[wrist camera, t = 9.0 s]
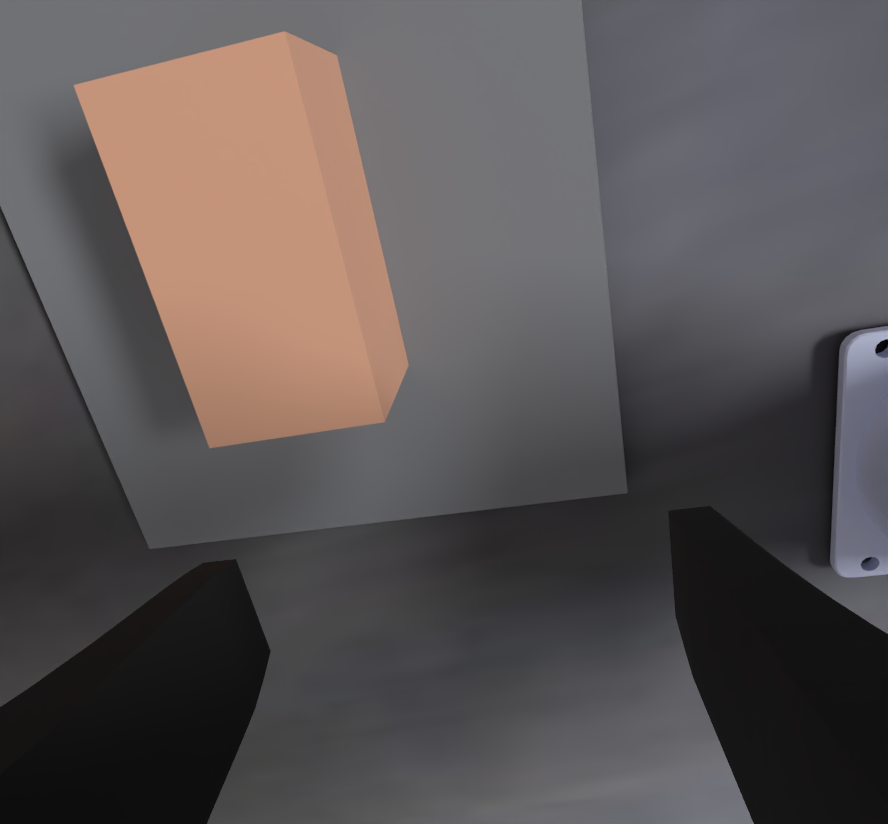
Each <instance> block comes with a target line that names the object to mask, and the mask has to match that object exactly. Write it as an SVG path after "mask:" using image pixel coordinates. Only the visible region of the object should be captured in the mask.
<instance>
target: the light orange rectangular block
mask: <svg viewBox="0 0 888 824" xmlns="http://www.w3.org/2000/svg"><path fill="white" fill-rule="evenodd" d="M74 88H75V91H76V93H77V96H78V99H79V101H80V104H81V107H82V109H83V112H84V115H85V117H86V120H87V123H88V125H89V128H90V131H91V133H92V136H93V139H94V141H95V144H96V147H97V149H98V152H99V155H100V157H101V160H102V163H103V165H104V168H105V171H106V173H107V176H108V179H109V181H110V184H111V187H112V189H113V192H114V195H115V197H116V200H117V203H118V205H119V208H120V211H121V213H122V216H123V219H124V221H125V224H126V227H127V229H128V232H129V235H130V237H131V240H132V243H133V245H134V248H135V251H136V253H137V256H138V259H139V261H140V264H141V267H142V269H143V272H144V275H145V277H146V280H147V283H148V285H149V288H150V291H151V293H152V296H153V299H154V301H155V304H156V307H157V309H158V312H159V315H160V317H161V320H162V323H163V325H164V328H165V331H166V333H167V336H168V339H169V341H170V344H171V347H172V349H173V352H174V355H175V357H176V360H177V363H178V365H179V368H180V371H181V373H182V376H183V379H184V381H185V384H186V387H187V389H188V392H189V395H190V397H191V400H192V403H193V405H194V408H195V411H196V413H197V416H198V419H199V421H200V424H201V427H202V429H203V432H204V435H205V438H206V440H207V443H208V446H209V448H215V447H221V446H228V445H235V444H241V443H248V442H255V441H262V440H268V439H275V438H282V437H288V436H295V435H302V434H309V433H315V432H322V431H329V430H335V429H342V428H349V427H356V426H362V425H369V424H376V423H382V422H385V420H386V418H387V416H388V413H389V411H390V408H391V406H392V404H393V401H394V399H395V397H396V394H397V392H398V389H399V387H400V385H401V382H402V380H403V378H404V375H405V373H406V370H407V368H408V366H409V364H408V360H407V356H406V351H405V347H404V343H403V338H402V334H401V330H400V325H399V321H398V317H397V312H396V308H395V304H394V299H393V295H392V291H391V286H390V282H389V278H388V273H387V269H386V265H385V260H384V256H383V252H382V248H381V243H380V239H379V235H378V230H377V226H376V222H375V217H374V213H373V209H372V204H371V200H370V196H369V191H368V187H367V183H366V178H365V174H364V170H363V165H362V161H361V157H360V152H359V148H358V144H357V139H356V135H355V131H354V127H353V122H352V118H351V114H350V109H349V105H348V101H347V96H346V92H345V88H344V83H343V79H342V75H341V70H340V66H339V62H338V57H337V55H335V54H333V53H331V52H329V51H327V50H324V49H322V48H320V47H318V46H316V45H314V44H311V43H309V42H307V41H305V40H303V39H301V38H299V37H296V36H294V35H292V34H290V33H288V32H286V31H284V32H280V33H276V34H272V35H268V36H264V37H260V38H256V39H252V40H248V41H244V42H241V43H237V44H233V45H229V46H225V47H221V48H217V49H213V50H209V51H205V52H201V53H197V54H193V55H190V56H186V57H182V58H178V59H174V60H170V61H166V62H162V63H158V64H154V65H150V66H146V67H142V68H139V69H135V70H131V71H127V72H123V73H119V74H115V75H111V76H107V77H103V78H99V79H95V80H91V81H88V82H84V83H80V84H76V85H74Z"/></svg>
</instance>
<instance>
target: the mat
mask: <svg viewBox="0 0 888 824" xmlns="http://www.w3.org/2000/svg"><path fill="white" fill-rule="evenodd" d="M284 31H286V32H288V33H290V34H292V35H294V36H296V37H299V38H301V39H303V40H305V41H307V42H309V43H311V44H314V45H316V46H318V47H320V48H322V49H324V50H327V51H329V52H331V53H333V54H335V55H337V57H338V62H339V66H340V70H341V75H342V79H343V83H344V88H345V92H346V96H347V101H348V105H349V109H350V114H351V118H352V122H353V127H354V131H355V135H356V139H357V144H358V148H359V152H360V157H361V161H362V165H363V170H364V174H365V178H366V183H367V187H368V191H369V196H370V200H371V204H372V209H373V213H374V217H375V222H376V226H377V230H378V235H379V239H380V243H381V248H382V252H383V256H384V260H385V265H386V269H387V273H388V278H389V282H390V286H391V291H392V295H393V299H394V304H395V308H396V312H397V317H398V321H399V325H400V330H401V334H402V338H403V343H404V347H405V351H406V356H407V360H408V364H409V366H408V368H407V370H406V373H405V375H404V378H403V380H402V382H401V385H400V387H399V389H398V392H397V394H396V397H395V399H394V401H393V404H392V406H391V408H390V411H389V413H388V416H387V418H386V420H385V422H382V423H376V424H369V425H362V426H356V427H349V428H342V429H335V430H329V431H322V432H315V433H309V434H302V435H295V436H288V437H282V438H275V439H268V440H262V441H255V442H248V443H241V444H235V445H228V446H221V447H215V448H209V446H208V443H207V440H206V438H205V435H204V432H203V429H202V427H201V424H200V421H199V419H198V416H197V413H196V411H195V408H194V405H193V403H192V400H191V397H190V395H189V392H188V389H187V387H186V384H185V381H184V379H183V376H182V373H181V371H180V368H179V365H178V363H177V360H176V357H175V355H174V352H173V349H172V347H171V344H170V341H169V339H168V336H167V333H166V331H165V328H164V325H163V323H162V320H161V317H160V315H159V312H158V309H157V307H156V304H155V301H154V299H153V296H152V293H151V291H150V288H149V285H148V283H147V280H146V277H145V275H144V272H143V269H142V267H141V264H140V261H139V259H138V256H137V253H136V251H135V248H134V245H133V243H132V240H131V237H130V235H129V232H128V229H127V227H126V224H125V221H124V219H123V216H122V213H121V211H120V208H119V205H118V203H117V200H116V197H115V195H114V192H113V189H112V187H111V184H110V181H109V179H108V176H107V173H106V171H105V168H104V165H103V163H102V160H101V157H100V155H99V152H98V149H97V147H96V144H95V141H94V139H93V136H92V133H91V131H90V128H89V125H88V123H87V120H86V117H85V115H84V112H83V109H82V107H81V104H80V101H79V99H78V96H77V93H76V91H75V88H74V85H76V84H80V83H84V82H88V81H91V80H95V79H99V78H103V77H107V76H111V75H115V74H119V73H123V72H127V71H131V70H135V69H139V68H142V67H146V66H150V65H154V64H158V63H162V62H166V61H170V60H174V59H178V58H182V57H186V56H190V55H193V54H197V53H201V52H205V51H209V50H213V49H217V48H221V47H225V46H229V45H233V44H237V43H241V42H244V41H248V40H252V39H256V38H260V37H264V36H268V35H272V34H276V33H280V32H284ZM0 207H1V209H2V211H3V214H4V216H5V218H6V220H7V223H8V225H9V227H10V230H11V232H12V234H13V237H14V239H15V241H16V243H17V246H18V248H19V250H20V253H21V255H22V257H23V260H24V262H25V264H26V266H27V269H28V271H29V273H30V276H31V278H32V280H33V283H34V285H35V287H36V289H37V292H38V294H39V296H40V299H41V301H42V303H43V305H44V308H45V310H46V312H47V315H48V317H49V319H50V322H51V324H52V326H53V328H54V331H55V333H56V335H57V338H58V340H59V342H60V345H61V347H62V349H63V351H64V354H65V356H66V358H67V361H68V363H69V365H70V368H71V370H72V372H73V374H74V377H75V379H76V381H77V384H78V386H79V388H80V391H81V393H82V395H83V397H84V400H85V402H86V404H87V407H88V409H89V411H90V413H91V416H92V418H93V420H94V423H95V425H96V427H97V430H98V432H99V434H100V436H101V439H102V441H103V443H104V446H105V448H106V450H107V453H108V455H109V457H110V459H111V462H112V464H113V466H114V469H115V471H116V473H117V476H118V478H119V480H120V482H121V485H122V487H123V489H124V492H125V494H126V496H127V498H128V501H129V503H130V505H131V508H132V510H133V512H134V515H135V517H136V519H137V521H138V524H139V526H140V528H141V531H142V533H143V535H144V538H145V540H146V542H147V544H148V547H149V549H156V548H164V547H173V546H182V545H190V544H199V543H207V542H216V541H224V540H233V539H241V538H250V537H258V536H267V535H275V534H284V533H293V532H301V531H310V530H318V529H327V528H335V527H344V526H352V525H361V524H369V523H378V522H386V521H395V520H404V519H412V518H421V517H429V516H438V515H446V514H455V513H463V512H472V511H480V510H489V509H497V508H506V507H515V506H523V505H532V504H540V503H549V502H557V501H566V500H574V499H583V498H591V497H600V496H608V495H617V494H626V493H628V489H627V479H626V468H625V458H624V447H623V436H622V426H621V415H620V405H619V394H618V383H617V373H616V362H615V352H614V341H613V330H612V320H611V309H610V299H609V288H608V278H607V267H606V256H605V246H604V235H603V225H602V214H601V203H600V193H599V182H598V172H597V161H596V150H595V140H594V129H593V119H592V108H591V97H590V87H589V76H588V66H587V55H586V44H585V34H584V23H583V13H582V2H581V0H0Z"/></svg>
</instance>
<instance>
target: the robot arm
mask: <svg viewBox="0 0 888 824" xmlns="http://www.w3.org/2000/svg"><path fill="white" fill-rule="evenodd" d="M885 339H888V326H884V327H877V328H871V329H864V330H859V331H856V332H852V333H851V334H850V335H848V336H847V337H846V338H845V339H844V340H843V342H842V343H841V346H840V350H839V370H838V393H837V415H836V437H835V460H834V482H833V504H832V527H831V549H830V563H831V566H832V567H833V569H834V570H835V571H836V572H837V573H838V574H839V575H840V576H842V577H846V578H854V577H865V576H876V575H886V574H888V346H887V348H886V349H885V350H884V351H883V352H880V353H876V352H875V349H876V346H877V345H878V344H879V343H880V342H881V341H883V340H885ZM669 524H670V539H671V554H672V569H673V584H674V598H675V613H676V619H677V622H678V626H679V630H680V633H681V637H682V640H683V644H684V648H685V651H686V655H687V658H688V661H689V665H690V668H691V672H692V675H693V678H694V680H695V683H696V685H697V688H698V690H699V693H700V695H701V698H702V700H703V702H704V705H705V707H706V710H707V712H708V715H709V717H710V719H711V722H712V724H713V727H714V729H715V732H716V734H717V736H718V739H719V741H720V744H721V746H722V748H723V751H724V753H725V756H726V758H727V760H728V763H729V765H730V768H731V770H732V772H733V775H734V777H735V780H736V782H737V784H738V787H739V789H740V792H741V794H742V796H743V799H744V801H745V804H746V806H747V808H748V811H749V813H750V816H751V818H752V820H753V823H754V824H888V634H887V633H885V632H883V631H882V630H880V629H878V628H877V627H875V626H874V625H872V624H870V623H869V622H867V621H866V620H864V619H863V618H861V617H860V616H858V615H856V614H855V613H853V612H852V611H850V610H849V609H847V608H846V607H844V606H843V605H841V604H839V603H838V602H836V601H835V600H833V599H832V598H830V597H829V596H827V595H826V594H825V593H823V592H822V591H820V590H819V589H817V588H816V587H814V586H813V585H812V584H810V583H809V582H808V581H806V580H805V579H803V578H802V577H801V576H799V575H798V574H797V573H795V572H794V571H792V570H791V569H790V568H788V567H787V566H786V565H784V564H783V563H782V562H780V561H779V560H778V559H776V558H775V557H774V556H772V555H771V554H770V553H769V552H767V551H766V550H765V549H763V548H762V547H761V546H760V545H758V544H757V543H756V542H754V541H753V540H752V539H751V538H749V537H748V536H747V535H746V534H744V533H743V532H742V531H741V530H739V529H738V528H737V527H736V526H734V525H733V524H732V523H731V522H729V521H728V520H727V519H726V518H724V517H723V516H722V515H721V514H719V513H718V512H717V511H715V510H714V509H713V508H711V507H710V506H707V507H698V508H689V509H680V510H671V511H669ZM868 557H872V558H871V560H869V561H868V562H865V563H862V561H863V560H864V559H865V558H868ZM269 655H270V649H269V646H268V643H267V641H266V638H265V635H264V633H263V630H262V627H261V625H260V622H259V619H258V617H257V614H256V611H255V609H254V606H253V603H252V601H251V598H250V596H249V593H248V590H247V588H246V585H245V582H244V580H243V577H242V574H241V572H240V569H239V566H238V564H237V561H236V559H234V560H225V561H216V562H207V563H202V564H201V565H199V566H197V567H196V568H194V569H193V570H191V571H189V572H188V573H186V574H185V575H183V576H182V577H181V578H179V579H178V580H176V581H175V582H174V583H172V584H171V585H169V586H168V587H167V588H165V589H164V590H163V591H161V592H160V593H159V594H157V595H156V596H154V597H153V598H152V599H150V600H149V601H148V602H147V603H145V604H144V605H143V606H141V607H140V608H139V609H137V610H136V611H135V612H133V613H132V614H131V615H129V616H128V617H127V618H125V619H124V620H123V621H121V622H120V623H119V624H117V625H116V626H115V627H113V628H112V629H111V630H109V631H108V632H107V633H105V634H104V635H103V636H101V637H100V638H99V639H97V640H96V641H95V642H93V643H92V644H91V645H89V646H88V647H86V648H85V649H84V650H82V651H81V652H79V653H78V654H76V655H75V656H74V657H72V658H71V659H69V660H68V661H67V662H65V663H64V664H62V665H61V666H60V667H58V668H57V669H55V670H54V671H53V672H51V673H50V674H48V675H47V676H45V677H44V678H43V679H41V680H40V681H38V682H37V683H36V684H34V685H33V686H31V687H30V688H29V689H27V690H26V691H24V692H23V693H21V694H20V695H18V696H17V697H15V698H14V699H12V700H11V701H9V702H8V703H6V704H4V705H3V706H1V707H0V824H207V822H208V819H209V817H210V815H211V812H212V810H213V808H214V805H215V803H216V800H217V798H218V796H219V793H220V791H221V789H222V786H223V784H224V782H225V779H226V777H227V775H228V772H229V770H230V768H231V765H232V763H233V761H234V758H235V756H236V754H237V751H238V749H239V746H240V744H241V742H242V739H243V737H244V734H245V732H246V730H247V727H248V725H249V722H250V720H251V717H252V715H253V712H254V710H255V707H256V703H257V700H258V697H259V693H260V690H261V686H262V683H263V679H264V675H265V671H266V667H267V663H268V659H269Z"/></svg>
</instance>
